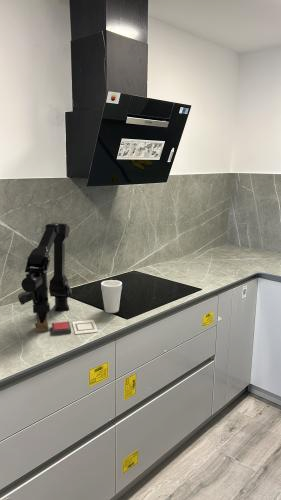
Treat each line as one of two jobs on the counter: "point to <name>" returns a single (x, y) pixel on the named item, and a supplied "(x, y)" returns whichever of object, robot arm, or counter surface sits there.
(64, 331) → the ink pad
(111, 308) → the foam cup
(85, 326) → the paper sheet
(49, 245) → the robot arm
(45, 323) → the stamp
